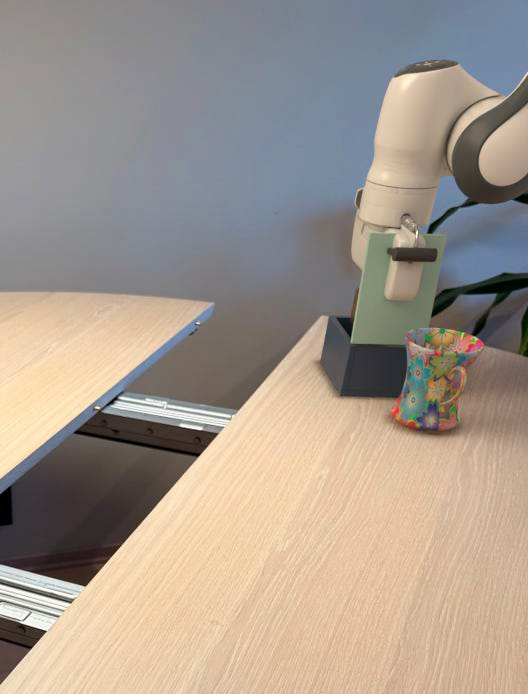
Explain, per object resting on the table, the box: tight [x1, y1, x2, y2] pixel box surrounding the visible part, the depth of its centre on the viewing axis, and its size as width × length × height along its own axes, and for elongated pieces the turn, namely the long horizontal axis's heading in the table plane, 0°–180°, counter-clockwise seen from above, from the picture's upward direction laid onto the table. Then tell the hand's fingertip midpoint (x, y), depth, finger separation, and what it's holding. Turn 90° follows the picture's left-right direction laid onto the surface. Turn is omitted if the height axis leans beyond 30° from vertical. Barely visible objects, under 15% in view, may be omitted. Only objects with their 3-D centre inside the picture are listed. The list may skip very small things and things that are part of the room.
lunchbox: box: [319, 314, 407, 398], centre depth 135 cm, size 13×10×7 cm
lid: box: [351, 232, 448, 345], centre depth 123 cm, size 13×10×5 cm
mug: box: [389, 327, 485, 432], centre depth 121 cm, size 12×9×11 cm
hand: (373, 314), depth 134 cm, fingers closed on block, 4 cm apart
